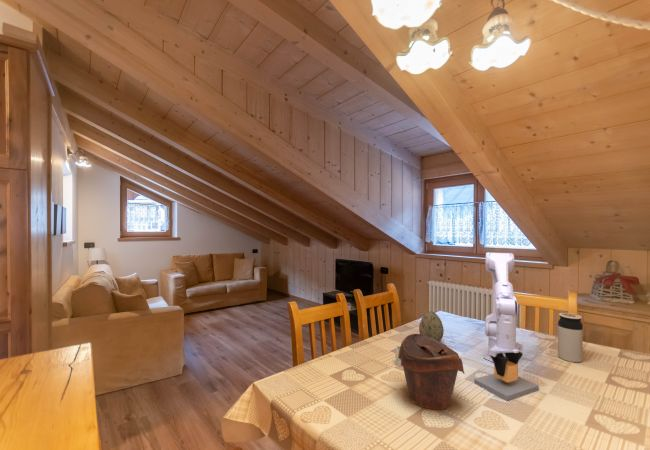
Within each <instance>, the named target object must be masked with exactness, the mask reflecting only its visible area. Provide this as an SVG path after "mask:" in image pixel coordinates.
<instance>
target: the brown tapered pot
mask: <svg viewBox="0 0 650 450" xmlns="http://www.w3.org/2000/svg"><path fill="white" fill-rule="evenodd" d="M400 346H401V347H400V350H399V354H398V359H399V358H400V360H401V365H402V366H401V367H402V368H403V373H404V377H405V379H404V380H405V384H406V388H407V394H408V397H409V399H410V401H411V402H412V403H414V404H415V405H418V406H420V407H421V408H425V409H430V410H439V411H440V410H444V409H447V408H448V407H449V406H450V405H451V403H452V398H453V393H454V388H455V384H456V381H457V377H458V372H461V373H462V374H465V370H464V364H463V360H462V358H461V357H460V355H459V353H458V352H457V351H455V350H453V349H452V348H450V347H448V346H447V345H446V344H444V343H442V342H441V341H440V342H439V341H437V340H435V339H433V338H430V337H428V336H425V335H422V334H420V333H410V334H408V335H407V336H405V337H404V338H403V340H402V341H401V343H400Z"/></svg>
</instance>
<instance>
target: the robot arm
mask: <svg viewBox="0 0 650 450" xmlns="http://www.w3.org/2000/svg"><path fill="white" fill-rule="evenodd" d="M484 263H485V271H486V272H487V273H490V274H491V278H492V288H491V289H492V313H490V314H488V315H486V316H485V319H484V334H485V336H486V337H488V355H486V356H483V359H485V360H487V361H490V362H492V363H493V366H494V365H495V368H496V372H497V374H498V375H500V376H502V377H503V376H504V374H505V366H506V363H507V360H508V361H510V362H512V363H515V364H517V365H518V363H519V362H520V361H521V358H522V357H523V352H521V351H523V344H522V343H520V342H517V317H518V314H519V302H518V299H517V298H516V296H515V293H514V286H513V284H512V283H511V282H510V281H509V274H510V273H512V271H513V269H514V267H515V255H514V253H513V252H489V251H488V252H486V253H485V261H484Z"/></svg>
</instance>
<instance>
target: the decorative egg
mask: <svg viewBox="0 0 650 450" xmlns="http://www.w3.org/2000/svg"><path fill="white" fill-rule="evenodd" d="M444 331H445V330H444V325H443V322H442V320H441V317H439V316H438V314H437V313H436V312H434V311H433V310H429V311H427V312H425V314H423V316H422V317H421V320H420V322H419V326H418V332H419V334H422V335H425V336H428V337H430V338H433V339H435V340H437V341H439V342H441V341H442V339H443V337H444V334H445V333H444Z"/></svg>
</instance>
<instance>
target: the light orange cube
mask: <svg viewBox="0 0 650 450" xmlns="http://www.w3.org/2000/svg"><path fill="white" fill-rule="evenodd" d="M518 372H519V365H518V364H515V363H512V362H510V361H508V360H507V363H506V366H505V374H504V376H503V377H502V376H500V375H498V374H497V372H496V368H495V365H494V364H493V374H494V376H495V377H497V378H499V379H501V380H504V381H506V382H512V381H515V380H518V376H519V373H518Z"/></svg>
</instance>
